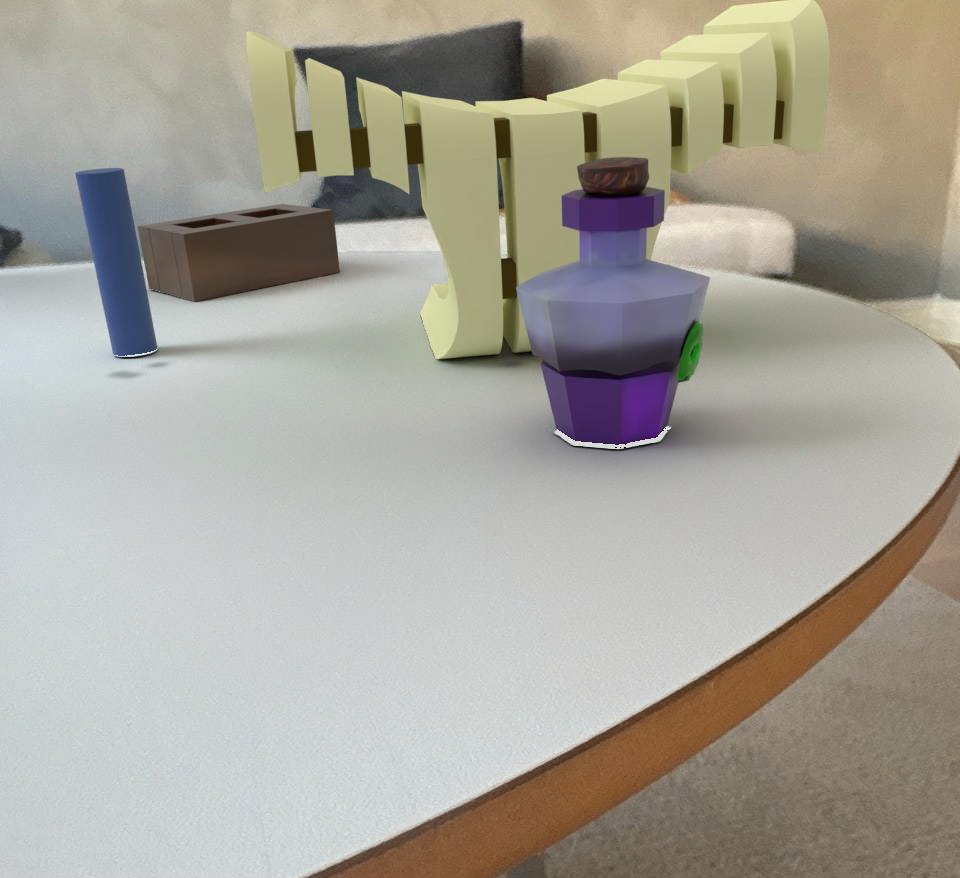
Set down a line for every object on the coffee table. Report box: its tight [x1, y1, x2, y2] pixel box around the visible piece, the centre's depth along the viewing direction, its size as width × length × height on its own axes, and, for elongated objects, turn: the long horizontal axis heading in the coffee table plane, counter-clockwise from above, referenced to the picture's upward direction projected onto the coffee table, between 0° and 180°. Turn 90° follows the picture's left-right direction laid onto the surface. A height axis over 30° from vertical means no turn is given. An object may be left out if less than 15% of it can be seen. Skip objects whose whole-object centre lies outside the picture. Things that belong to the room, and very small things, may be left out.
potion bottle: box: [516, 157, 711, 448], centre depth 49 cm, size 9×9×12 cm
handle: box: [75, 167, 159, 356], centre depth 68 cm, size 3×3×11 cm
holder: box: [137, 203, 341, 303], centre depth 89 cm, size 8×14×5 cm, turn 131°
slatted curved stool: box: [245, 0, 831, 360], centre depth 65 cm, size 30×16×18 cm, turn 97°
